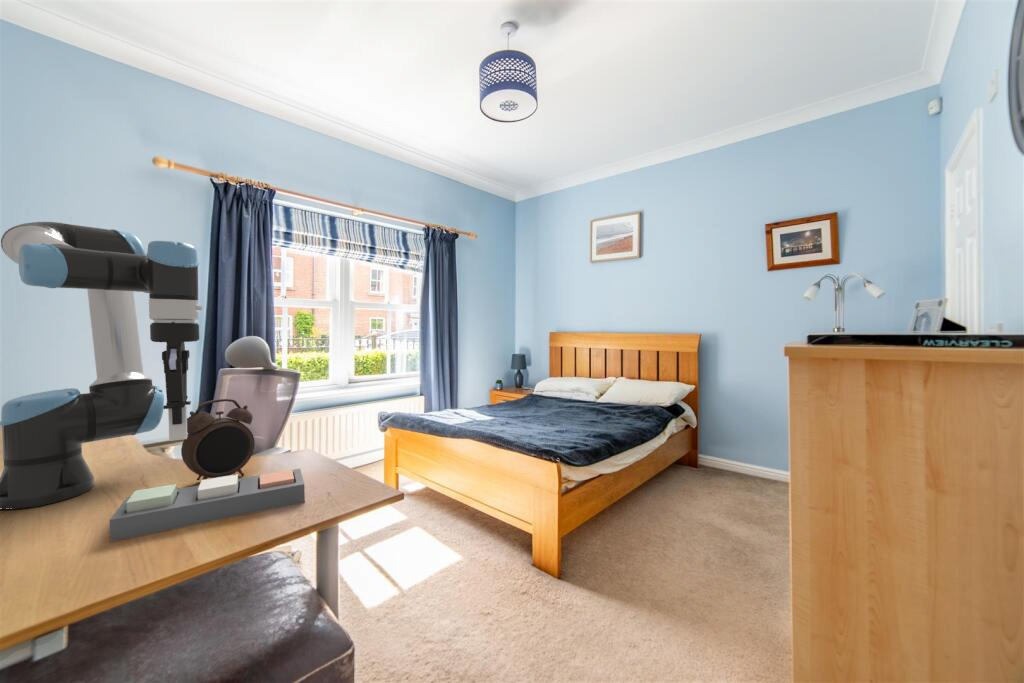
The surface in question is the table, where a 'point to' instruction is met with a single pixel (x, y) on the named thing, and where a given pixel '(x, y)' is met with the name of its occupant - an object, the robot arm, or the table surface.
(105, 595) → the table surface
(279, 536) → the table surface
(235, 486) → the key offwhite
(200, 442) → the alarm clock
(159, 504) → the key sage
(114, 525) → the keypad
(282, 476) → the key terracotta
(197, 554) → the table surface
